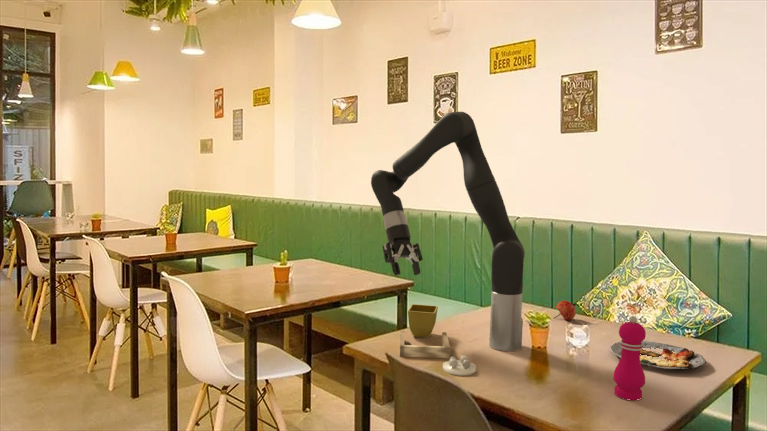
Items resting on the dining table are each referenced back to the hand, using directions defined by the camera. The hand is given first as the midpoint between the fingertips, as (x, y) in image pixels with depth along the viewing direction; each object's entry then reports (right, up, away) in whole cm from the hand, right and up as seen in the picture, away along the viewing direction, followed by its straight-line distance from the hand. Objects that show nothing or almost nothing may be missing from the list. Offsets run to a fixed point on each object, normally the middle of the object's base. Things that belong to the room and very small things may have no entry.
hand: (407, 274), depth 182 cm
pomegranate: (+59, -19, +28) cm, 68 cm away
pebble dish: (+13, -23, -26) cm, 37 cm away
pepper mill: (+52, -26, -41) cm, 71 cm away
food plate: (+72, -24, -14) cm, 78 cm away
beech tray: (+4, -21, -9) cm, 24 cm away
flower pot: (+5, -20, +4) cm, 21 cm away
